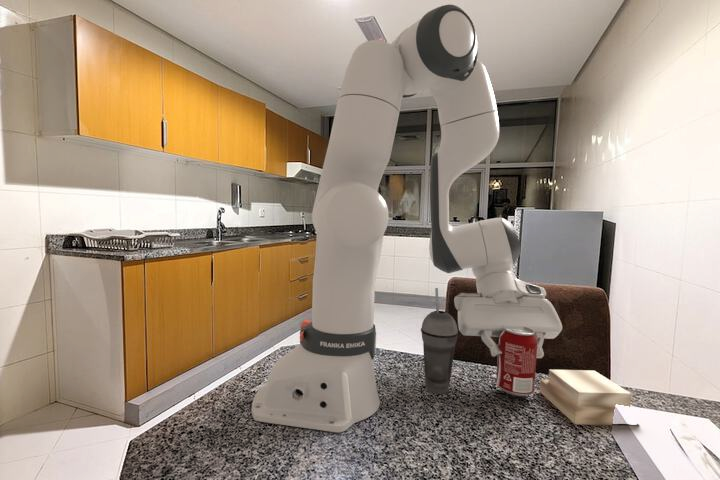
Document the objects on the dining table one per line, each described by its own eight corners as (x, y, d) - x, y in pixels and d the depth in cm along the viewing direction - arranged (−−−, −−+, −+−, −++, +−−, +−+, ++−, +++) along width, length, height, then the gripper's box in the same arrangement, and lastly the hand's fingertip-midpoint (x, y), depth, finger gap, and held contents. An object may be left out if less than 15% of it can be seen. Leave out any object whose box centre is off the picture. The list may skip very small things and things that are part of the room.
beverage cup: (438, 401, 64) (443, 294, 63) (410, 385, 70) (414, 287, 69) (463, 390, 68) (468, 290, 67) (435, 376, 74) (439, 284, 73)
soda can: (538, 401, 63) (543, 336, 62) (499, 395, 64) (503, 332, 64) (528, 384, 70) (532, 325, 69) (492, 379, 71) (496, 322, 70)
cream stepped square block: (574, 424, 58) (576, 395, 57) (539, 391, 69) (541, 367, 68) (639, 425, 58) (641, 396, 58) (594, 392, 69) (595, 368, 69)
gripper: (456, 284, 73) (468, 346, 63) (552, 288, 73) (578, 351, 64) (449, 300, 77) (459, 360, 68) (539, 304, 78) (562, 364, 69)
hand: (518, 356), depth 66 cm, fingers closed on soda can, 7 cm apart
